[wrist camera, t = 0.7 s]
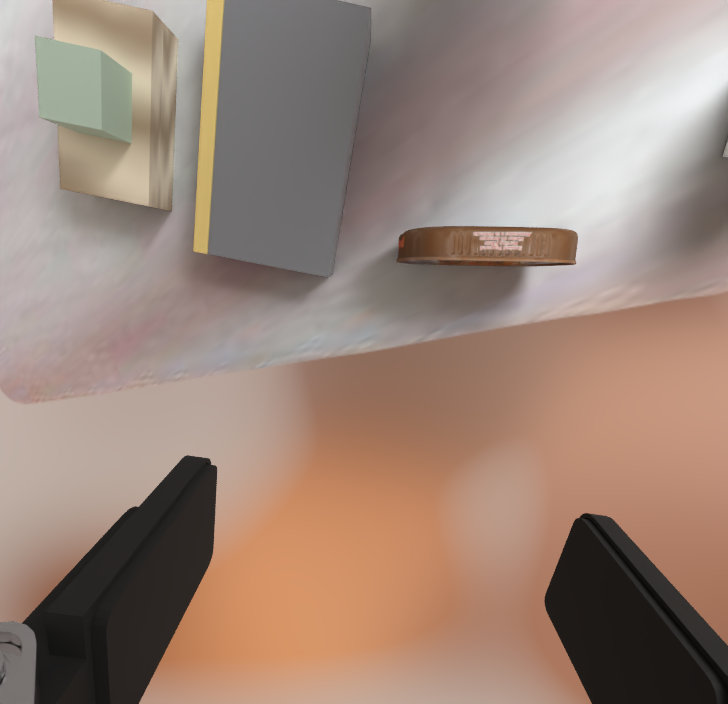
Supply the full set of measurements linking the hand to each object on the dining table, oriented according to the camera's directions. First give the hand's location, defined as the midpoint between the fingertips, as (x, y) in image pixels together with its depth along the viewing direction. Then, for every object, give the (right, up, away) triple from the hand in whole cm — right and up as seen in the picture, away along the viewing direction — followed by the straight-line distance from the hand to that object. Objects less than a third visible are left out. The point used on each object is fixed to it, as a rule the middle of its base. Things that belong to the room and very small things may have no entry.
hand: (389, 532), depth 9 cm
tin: (+10, +15, +26) cm, 31 cm away
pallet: (-22, +26, +23) cm, 41 cm away
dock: (-8, +23, +23) cm, 34 cm away
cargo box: (-22, +25, +19) cm, 38 cm away
